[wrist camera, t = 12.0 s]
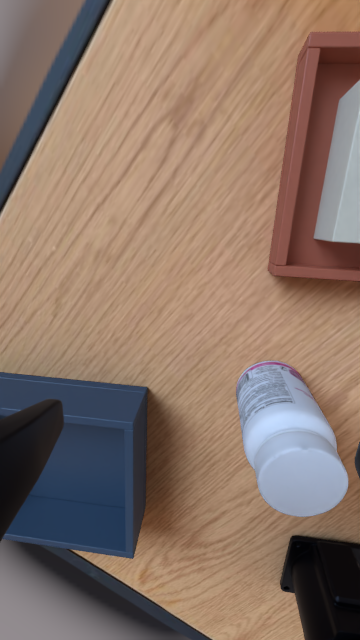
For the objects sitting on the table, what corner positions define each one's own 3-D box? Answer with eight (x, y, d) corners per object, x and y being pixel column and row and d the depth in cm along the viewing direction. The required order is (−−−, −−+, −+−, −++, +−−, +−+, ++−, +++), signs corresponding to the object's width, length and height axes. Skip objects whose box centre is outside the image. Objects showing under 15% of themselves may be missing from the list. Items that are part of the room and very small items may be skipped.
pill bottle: (314, 401, 21) (374, 508, 13) (252, 425, 23) (274, 535, 15) (287, 347, 20) (335, 427, 12) (224, 374, 21) (231, 463, 13)
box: (145, 507, 26) (133, 559, 22) (-5, 486, 28) (-43, 532, 23) (147, 386, 22) (133, 422, 18) (-28, 369, 24) (-78, 399, 20)
